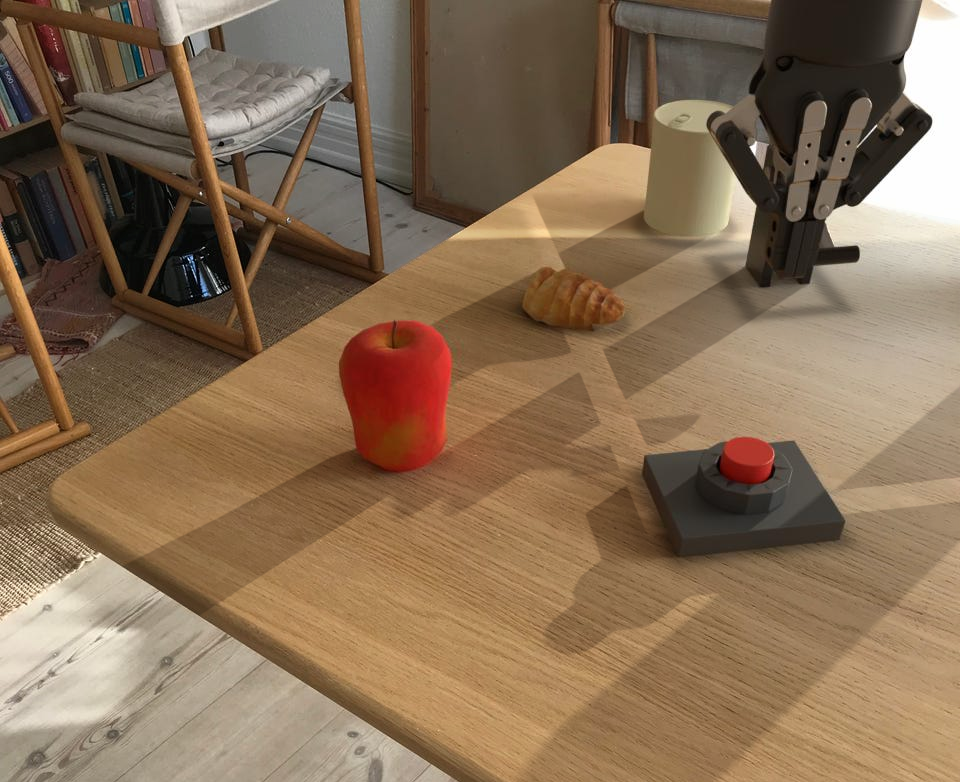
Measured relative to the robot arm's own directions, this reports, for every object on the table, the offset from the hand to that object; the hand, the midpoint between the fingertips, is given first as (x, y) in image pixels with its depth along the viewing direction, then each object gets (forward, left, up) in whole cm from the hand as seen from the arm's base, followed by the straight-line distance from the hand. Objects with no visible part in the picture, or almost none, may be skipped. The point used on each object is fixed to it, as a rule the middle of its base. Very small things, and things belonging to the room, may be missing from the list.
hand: (787, 272), depth 64 cm
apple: (+24, -11, -19) cm, 33 cm away
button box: (0, 0, -19) cm, 19 cm away
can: (-10, -47, -19) cm, 52 cm away
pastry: (+6, -31, -19) cm, 37 cm away
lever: (-15, -29, -10) cm, 34 cm away
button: (0, 0, -15) cm, 15 cm away
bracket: (-15, -33, -19) cm, 41 cm away
